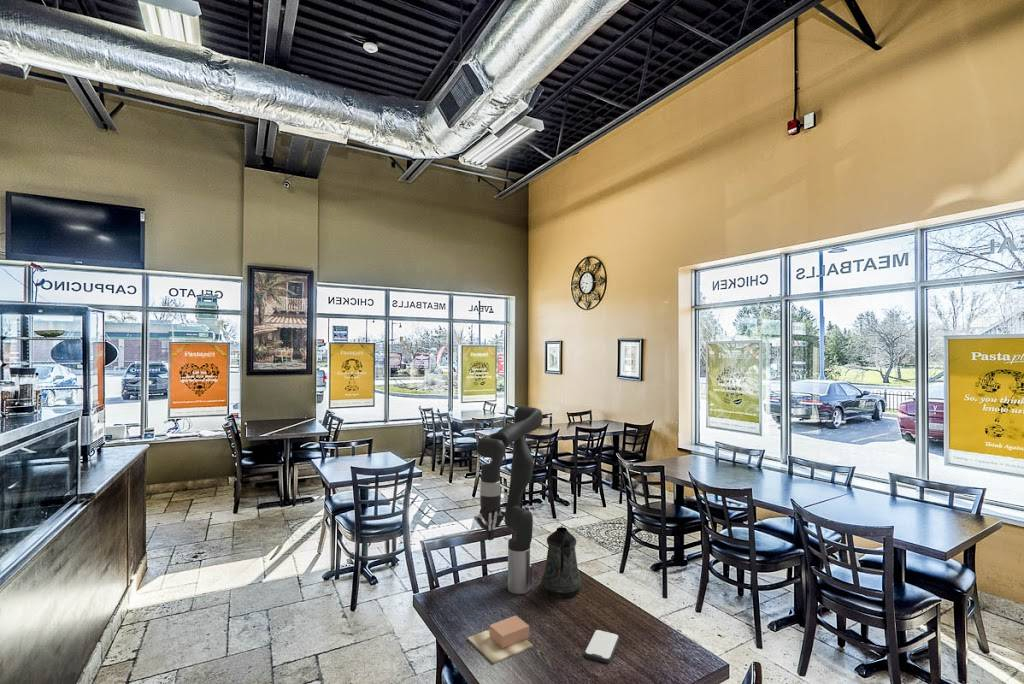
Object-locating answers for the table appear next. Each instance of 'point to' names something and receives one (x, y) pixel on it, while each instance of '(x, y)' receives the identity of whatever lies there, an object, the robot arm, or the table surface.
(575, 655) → the table surface
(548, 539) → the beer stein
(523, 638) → the salmon pink block
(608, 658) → the phone case
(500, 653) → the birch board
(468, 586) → the table surface
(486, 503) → the robot arm
